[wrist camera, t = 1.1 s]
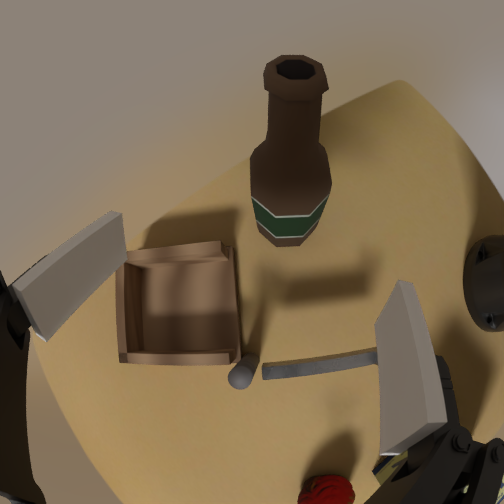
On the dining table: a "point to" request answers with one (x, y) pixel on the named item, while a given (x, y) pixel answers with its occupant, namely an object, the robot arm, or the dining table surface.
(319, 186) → the beer bottle
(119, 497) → the dining table surface
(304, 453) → the dining table surface
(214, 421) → the dining table surface
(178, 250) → the wooden crate
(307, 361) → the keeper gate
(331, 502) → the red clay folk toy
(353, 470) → the dining table surface
